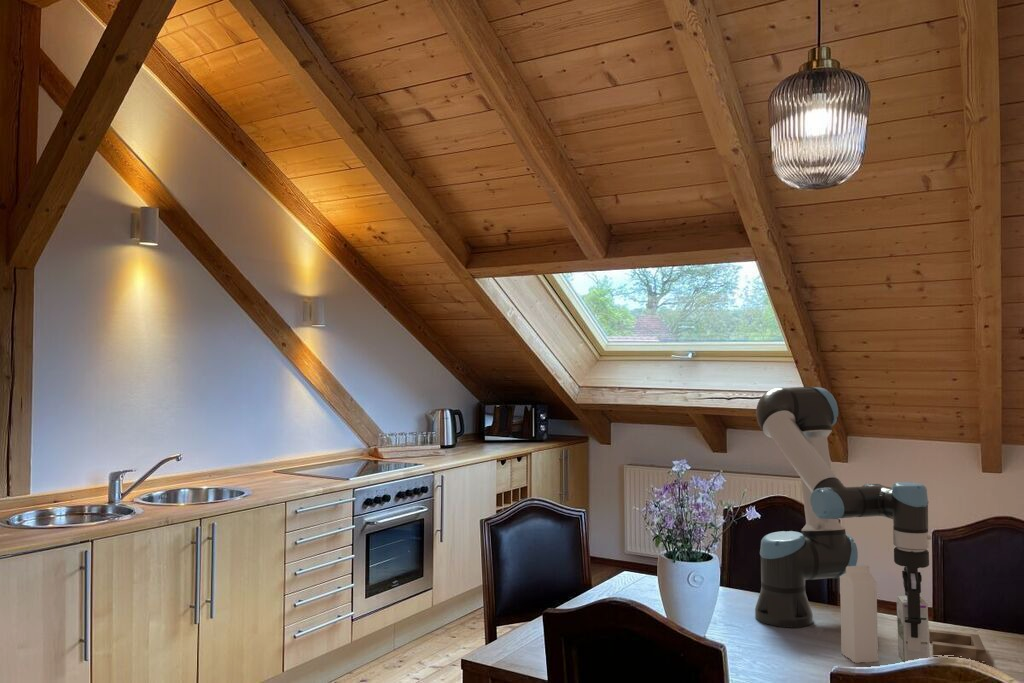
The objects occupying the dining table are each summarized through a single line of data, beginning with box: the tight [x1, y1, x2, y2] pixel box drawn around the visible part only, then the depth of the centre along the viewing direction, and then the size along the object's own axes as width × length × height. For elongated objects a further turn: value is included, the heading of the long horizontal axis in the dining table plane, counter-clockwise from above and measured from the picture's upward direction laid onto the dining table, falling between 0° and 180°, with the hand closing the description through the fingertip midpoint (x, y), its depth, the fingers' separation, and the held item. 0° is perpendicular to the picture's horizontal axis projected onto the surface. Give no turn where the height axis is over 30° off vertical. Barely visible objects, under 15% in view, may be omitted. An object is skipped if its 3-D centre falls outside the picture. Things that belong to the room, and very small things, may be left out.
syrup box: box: [896, 595, 931, 662], centre depth 188 cm, size 6×6×14 cm
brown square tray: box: [929, 628, 987, 664], centre depth 193 cm, size 11×12×3 cm
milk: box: [839, 564, 879, 664], centre depth 189 cm, size 6×6×22 cm
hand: (913, 645), depth 188 cm, fingers closed on syrup box, 6 cm apart
